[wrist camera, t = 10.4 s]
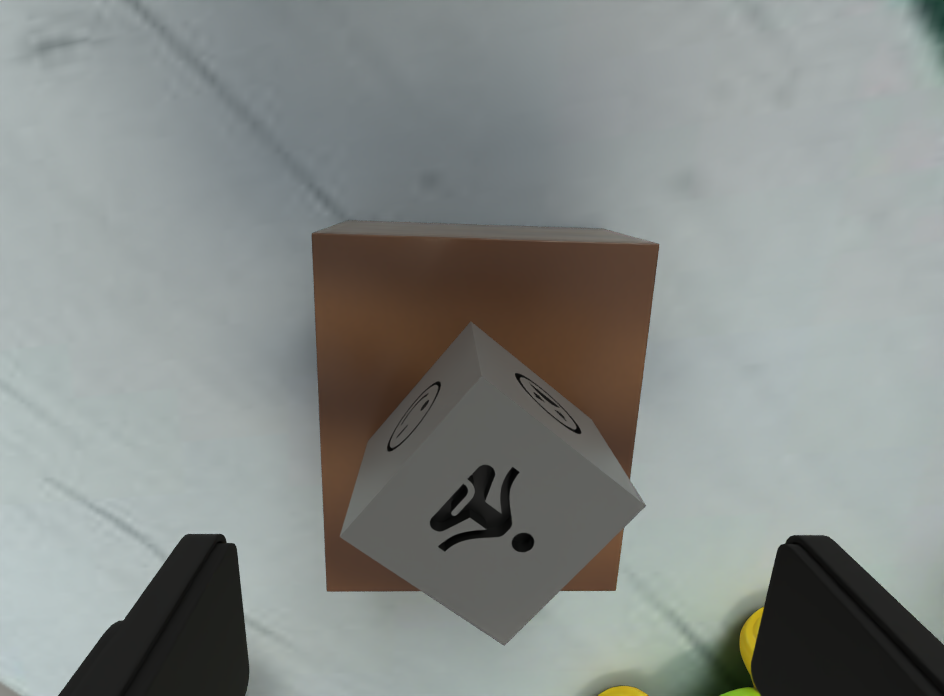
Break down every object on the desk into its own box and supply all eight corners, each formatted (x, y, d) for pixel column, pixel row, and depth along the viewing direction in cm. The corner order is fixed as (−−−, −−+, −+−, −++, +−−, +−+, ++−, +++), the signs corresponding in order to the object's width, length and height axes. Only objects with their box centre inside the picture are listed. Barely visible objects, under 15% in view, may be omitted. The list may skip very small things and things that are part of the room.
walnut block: (346, 220, 22) (311, 232, 16) (603, 228, 22) (659, 243, 16) (353, 498, 25) (326, 592, 19) (577, 499, 25) (616, 591, 20)
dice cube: (470, 321, 17) (481, 376, 12) (591, 419, 18) (646, 506, 13) (367, 441, 18) (339, 537, 13) (488, 527, 19) (503, 645, 14)
